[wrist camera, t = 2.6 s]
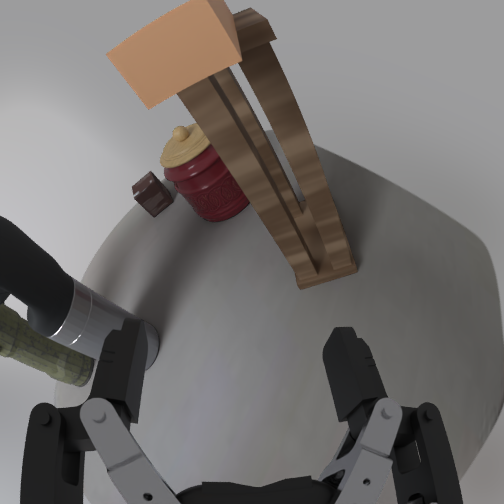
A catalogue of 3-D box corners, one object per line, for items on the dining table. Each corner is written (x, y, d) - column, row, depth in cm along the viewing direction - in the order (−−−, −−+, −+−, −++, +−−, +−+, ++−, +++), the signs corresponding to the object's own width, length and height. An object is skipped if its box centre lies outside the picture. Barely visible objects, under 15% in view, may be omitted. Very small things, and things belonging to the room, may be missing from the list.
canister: (219, 235, 50) (158, 163, 37) (188, 208, 59) (136, 148, 46) (271, 185, 52) (226, 106, 39) (232, 166, 60) (190, 102, 47)
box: (169, 190, 67) (151, 170, 61) (174, 202, 63) (154, 180, 57) (150, 205, 67) (131, 186, 62) (153, 218, 63) (133, 198, 57)
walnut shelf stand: (357, 272, 36) (267, 19, 13) (300, 289, 38) (151, 75, 15) (331, 197, 44) (250, 7, 21) (285, 214, 46) (181, 39, 23)
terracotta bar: (242, 60, 8) (202, -6, 6) (148, 109, 10) (105, 54, 7) (233, 16, 20) (219, -7, 18) (196, 33, 22) (181, 11, 19)
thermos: (76, 400, 44) (-78, 328, 18) (68, 356, 52) (-62, 280, 25) (99, 380, 44) (-69, 294, 18) (88, 335, 52) (-49, 247, 26)
